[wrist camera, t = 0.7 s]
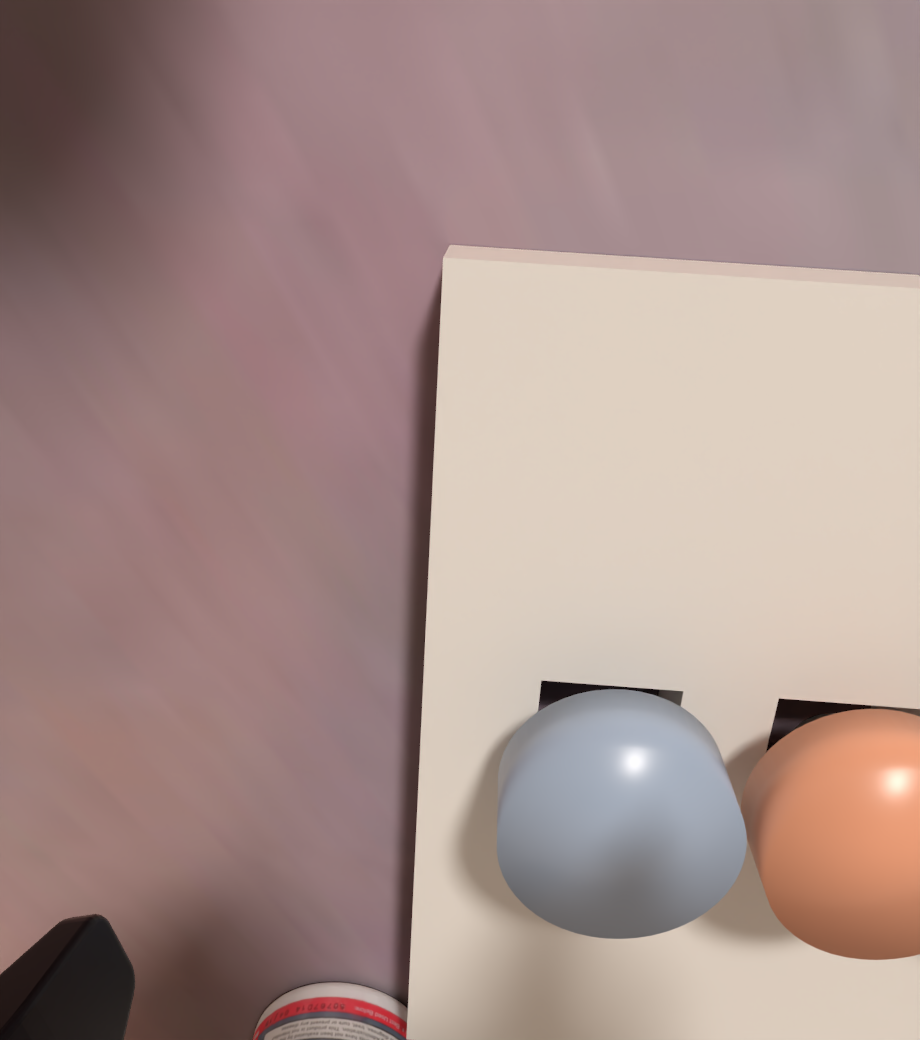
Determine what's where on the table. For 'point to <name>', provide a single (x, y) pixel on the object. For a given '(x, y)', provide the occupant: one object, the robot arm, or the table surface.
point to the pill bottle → (333, 1014)
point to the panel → (657, 604)
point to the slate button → (617, 816)
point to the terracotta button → (842, 832)
